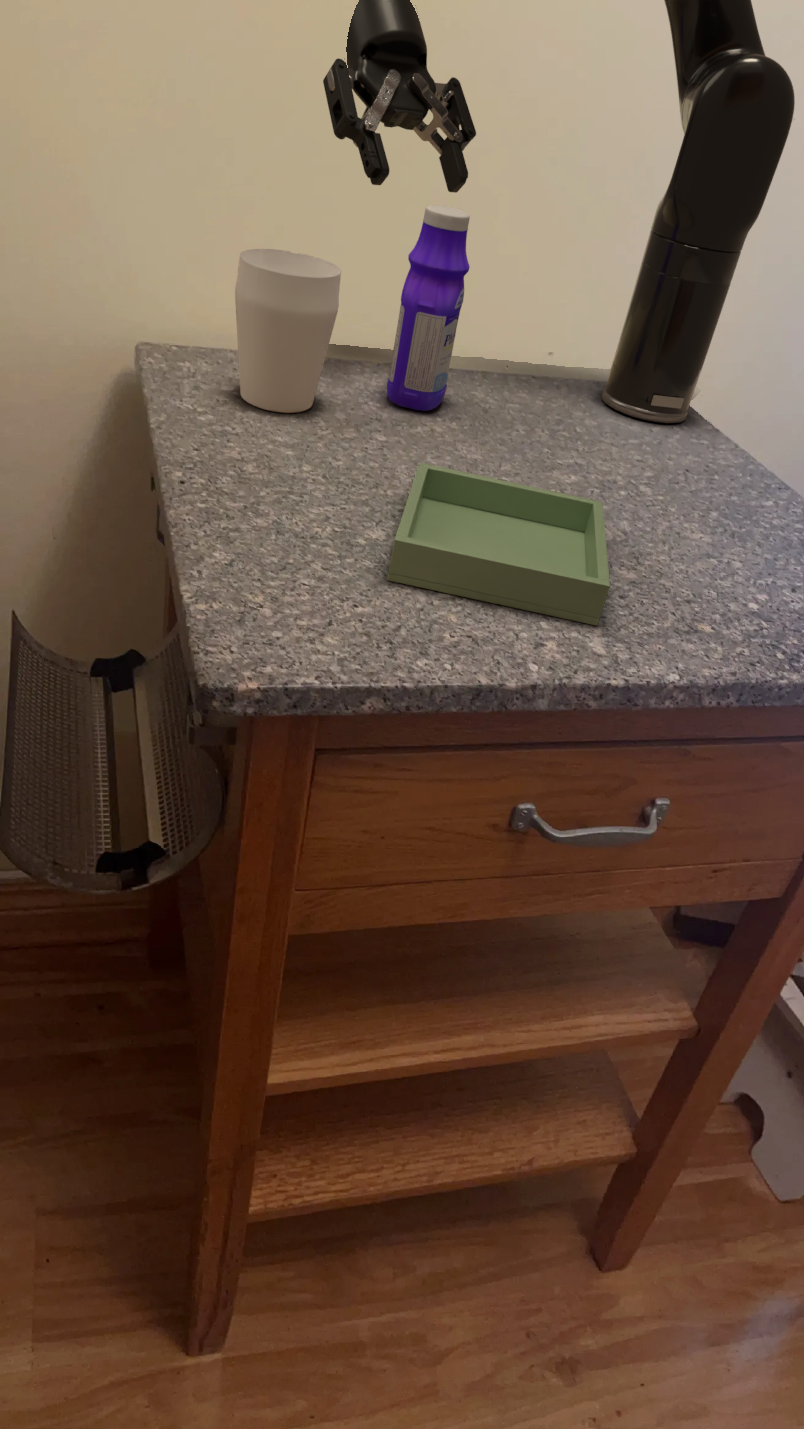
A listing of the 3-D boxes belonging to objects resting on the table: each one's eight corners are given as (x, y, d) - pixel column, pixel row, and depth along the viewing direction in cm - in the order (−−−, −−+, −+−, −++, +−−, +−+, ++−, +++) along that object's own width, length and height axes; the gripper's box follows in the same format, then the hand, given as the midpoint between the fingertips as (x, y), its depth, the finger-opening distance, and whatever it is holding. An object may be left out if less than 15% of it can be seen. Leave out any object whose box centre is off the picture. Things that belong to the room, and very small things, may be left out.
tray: (412, 498, 82) (419, 462, 80) (592, 537, 82) (603, 501, 80) (386, 580, 70) (394, 539, 68) (597, 626, 70) (610, 586, 68)
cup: (344, 406, 97) (363, 272, 90) (285, 426, 90) (301, 283, 83) (268, 376, 100) (281, 245, 93) (206, 393, 93) (215, 253, 87)
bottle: (435, 419, 99) (474, 222, 89) (378, 405, 99) (410, 208, 89) (447, 397, 104) (485, 211, 95) (393, 384, 105) (425, 197, 95)
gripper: (326, -28, 88) (374, 150, 88) (460, 0, 96) (505, 165, 95) (291, 36, 95) (335, 203, 94) (419, 58, 102) (461, 213, 101)
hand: (420, 184), depth 94 cm, fingers open, 8 cm apart
